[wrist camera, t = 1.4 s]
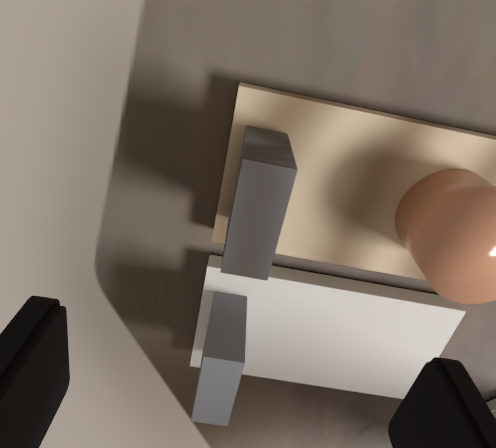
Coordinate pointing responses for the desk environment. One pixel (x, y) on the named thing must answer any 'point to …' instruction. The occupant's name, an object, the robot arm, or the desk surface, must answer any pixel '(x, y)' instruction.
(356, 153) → the beige stand with post
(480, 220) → the peach rounded lump
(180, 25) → the desk surface
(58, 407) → the robot arm
